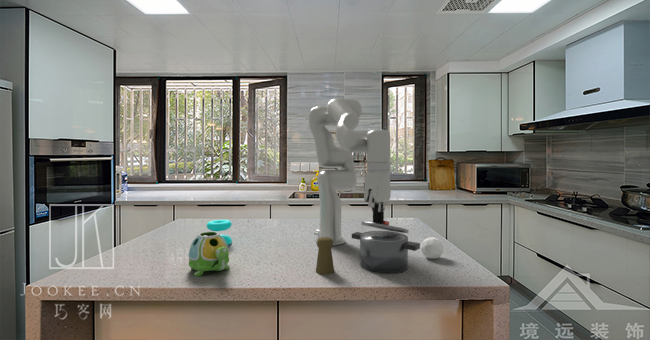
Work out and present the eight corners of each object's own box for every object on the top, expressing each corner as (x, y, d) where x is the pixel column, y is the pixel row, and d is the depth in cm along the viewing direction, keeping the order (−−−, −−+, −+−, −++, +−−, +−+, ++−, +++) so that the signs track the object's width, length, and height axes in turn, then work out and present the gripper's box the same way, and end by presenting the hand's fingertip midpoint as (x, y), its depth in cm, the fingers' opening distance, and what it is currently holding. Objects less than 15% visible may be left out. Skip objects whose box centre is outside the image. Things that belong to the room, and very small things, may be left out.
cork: (332, 275, 95) (332, 240, 95) (313, 273, 96) (313, 239, 96) (335, 268, 101) (335, 235, 101) (317, 267, 102) (317, 234, 102)
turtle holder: (204, 285, 88) (203, 244, 87) (182, 268, 101) (182, 233, 101) (243, 274, 96) (243, 236, 96) (218, 260, 110) (218, 227, 109)
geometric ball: (427, 263, 114) (422, 243, 118) (448, 259, 110) (442, 238, 115) (420, 258, 108) (415, 237, 113) (442, 253, 105) (437, 231, 109)
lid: (352, 222, 103) (353, 214, 104) (375, 228, 115) (376, 221, 116) (395, 229, 93) (396, 221, 93) (415, 235, 105) (416, 227, 105)
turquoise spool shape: (201, 222, 127) (221, 218, 136) (201, 245, 128) (221, 240, 136) (217, 224, 122) (236, 220, 130) (217, 249, 122) (236, 243, 131)
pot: (341, 263, 106) (341, 235, 105) (366, 252, 118) (366, 227, 118) (406, 281, 90) (406, 248, 90) (426, 266, 103) (427, 237, 102)
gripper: (379, 167, 108) (379, 218, 109) (356, 168, 96) (356, 225, 97) (399, 167, 103) (398, 221, 104) (377, 168, 92) (376, 228, 92)
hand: (378, 223), depth 100 cm, fingers closed
